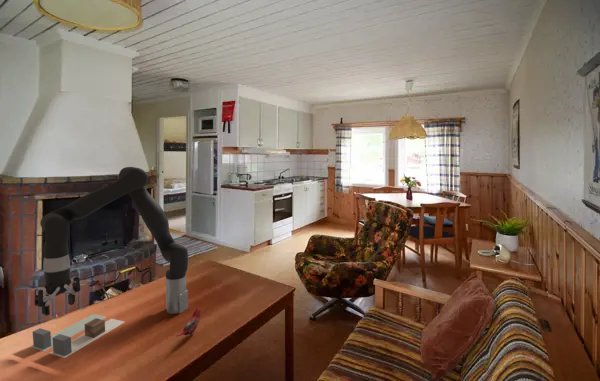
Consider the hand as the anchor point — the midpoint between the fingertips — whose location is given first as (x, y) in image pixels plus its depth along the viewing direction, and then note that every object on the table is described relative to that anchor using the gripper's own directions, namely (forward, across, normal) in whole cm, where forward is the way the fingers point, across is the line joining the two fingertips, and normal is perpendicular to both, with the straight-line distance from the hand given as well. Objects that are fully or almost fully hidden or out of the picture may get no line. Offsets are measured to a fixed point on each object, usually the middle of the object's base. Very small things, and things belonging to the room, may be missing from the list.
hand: (59, 309), depth 112 cm
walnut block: (+17, +13, 0) cm, 21 cm away
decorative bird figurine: (+18, +26, -37) cm, 49 cm away
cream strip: (+18, +11, 0) cm, 21 cm away
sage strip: (+18, +11, +11) cm, 24 cm away
